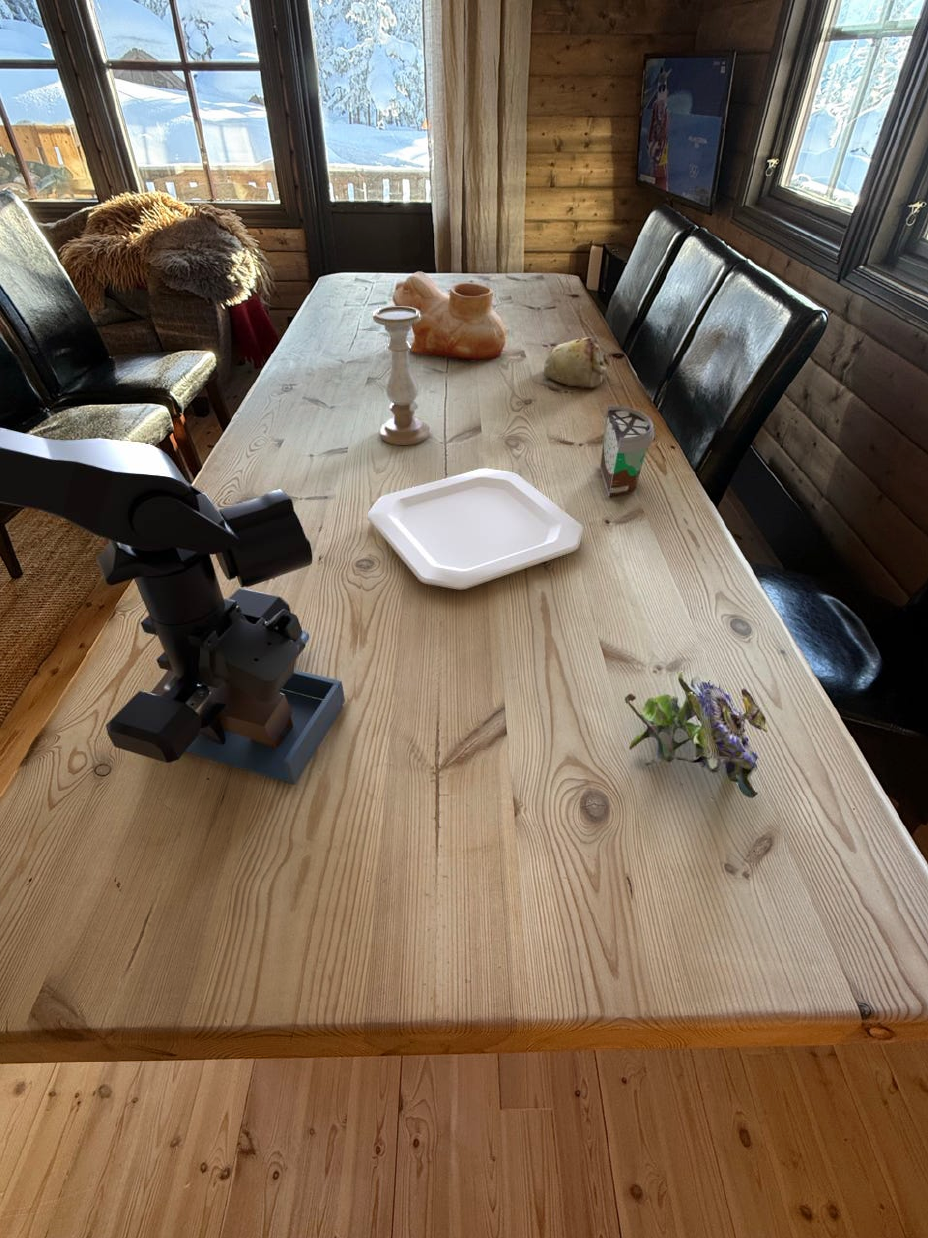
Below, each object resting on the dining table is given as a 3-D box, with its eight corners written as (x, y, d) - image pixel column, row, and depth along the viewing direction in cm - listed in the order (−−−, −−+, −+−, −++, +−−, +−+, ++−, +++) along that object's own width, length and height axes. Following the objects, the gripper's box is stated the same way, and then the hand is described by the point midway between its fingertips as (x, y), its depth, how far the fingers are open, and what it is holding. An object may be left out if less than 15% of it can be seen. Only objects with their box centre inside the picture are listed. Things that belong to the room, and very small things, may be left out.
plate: (599, 552, 88) (601, 538, 87) (435, 610, 79) (434, 595, 78) (502, 474, 105) (502, 461, 103) (357, 514, 96) (355, 501, 94)
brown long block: (165, 718, 63) (149, 693, 60) (187, 689, 65) (172, 664, 62) (276, 750, 60) (264, 726, 57) (295, 718, 62) (284, 694, 59)
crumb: (243, 720, 62) (261, 698, 64) (250, 740, 64) (267, 718, 66) (271, 728, 61) (288, 705, 64) (277, 748, 63) (293, 725, 66)
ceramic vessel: (412, 332, 158) (408, 263, 148) (514, 346, 150) (518, 274, 140) (384, 350, 148) (378, 278, 138) (492, 367, 140) (494, 291, 131)
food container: (651, 502, 98) (664, 439, 92) (610, 502, 98) (620, 439, 92) (636, 463, 108) (647, 403, 101) (598, 463, 108) (607, 403, 101)
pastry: (615, 386, 132) (621, 345, 127) (556, 392, 130) (560, 350, 125) (589, 362, 142) (594, 323, 137) (534, 367, 140) (537, 328, 135)
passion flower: (713, 797, 66) (798, 797, 54) (612, 799, 63) (680, 800, 52) (700, 685, 69) (779, 663, 57) (604, 683, 66) (666, 659, 55)
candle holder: (389, 449, 111) (379, 324, 98) (373, 429, 118) (361, 308, 104) (437, 440, 114) (433, 316, 101) (419, 420, 120) (413, 301, 107)
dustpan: (294, 785, 61) (288, 763, 58) (148, 741, 64) (137, 719, 62) (372, 659, 73) (370, 637, 71) (246, 629, 77) (240, 607, 75)
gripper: (199, 708, 44) (250, 835, 54) (329, 556, 58) (350, 681, 68) (67, 671, 47) (139, 799, 57) (220, 534, 60) (256, 657, 71)
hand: (231, 728), depth 63 cm, fingers closed on brown long block, 3 cm apart
